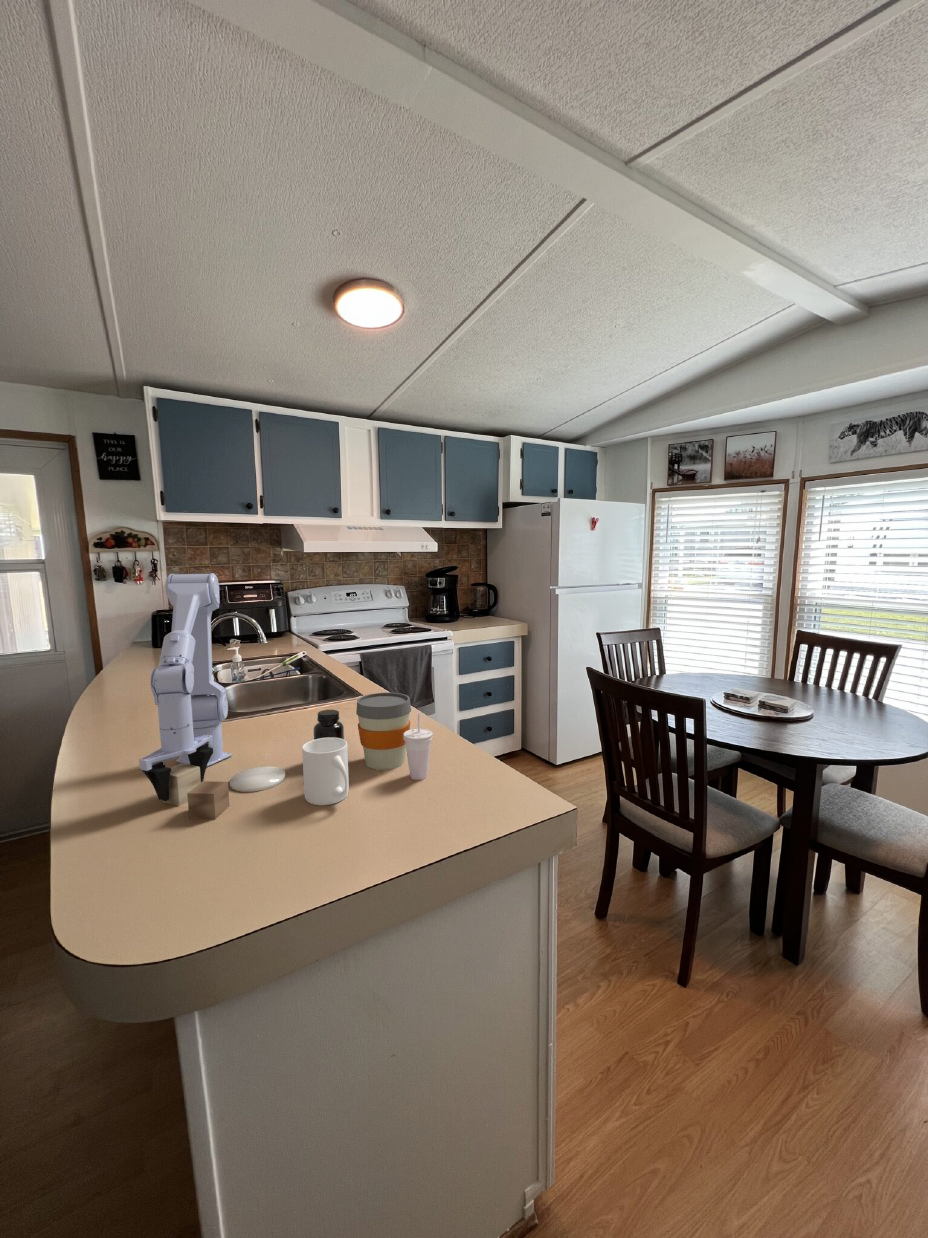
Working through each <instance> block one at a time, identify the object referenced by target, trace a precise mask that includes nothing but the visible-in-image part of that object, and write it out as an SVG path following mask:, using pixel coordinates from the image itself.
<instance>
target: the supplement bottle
mask: <svg viewBox="0 0 928 1238" xmlns="http://www.w3.org/2000/svg"><path fill="white" fill-rule="evenodd" d="M316 720H317V723H316V724H315V725H314V726H313V740H315V739H320V738H341V739H344V740H345V729H344V728H345V727H344V725H343V723H342V722H341V721H340V711H338V710H336V709H324V710H319V711H318V712H317V719H316Z"/></svg>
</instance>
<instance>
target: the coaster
mask: <svg viewBox="0 0 928 1238" xmlns="http://www.w3.org/2000/svg"><path fill="white" fill-rule="evenodd" d="M285 780H286V771H285V770H284V769H283V768H281V767H278V766H270V765H269V766H257V767H256V766H255V767H251V768H248V769H245V770H242V771H240V772H238V773H235V774H234V775H233V776H232V777H231V778H230V780H229V787H230V789H232V790H234V791H235V792H240V793H253V792H260V791H266V790H268V789H271V788H273V787H276V786H278V785H280V784H281V783H283V782H284V781H285Z"/></svg>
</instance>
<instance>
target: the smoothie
mask: <svg viewBox="0 0 928 1238" xmlns="http://www.w3.org/2000/svg"><path fill="white" fill-rule="evenodd" d="M403 736H404V737H403V739H404V740H405V744H406V754H407V755H406V757H407V762H408V763H407V764H408V770H409V776H410V779H412V780H413V781H414V780H415V781H420V780H422V781H423V780H424V779H427V778H428V773H429V765H430V764H429V763H430V755H431V747H432V739H433V738H434V736H433V731H431V730H430V729H426V728H421V713H420V712H417V728H414V729H410V730H408V731H406V732H405V733H404V734H403Z"/></svg>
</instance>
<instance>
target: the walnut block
mask: <svg viewBox="0 0 928 1238" xmlns="http://www.w3.org/2000/svg"><path fill="white" fill-rule="evenodd" d="M229 792H230V791H229V781H211V780H210V781H204V780H203V781H202V782H201V783H200V784H199V785H197V786H196V787H195V788H193V789H192V790H191V791H189V792H188V793H187V797H188V802H187V808H188V819H191V820H192V819H193V820H216V819H218V817H220V816H221V815H222V814H223V813H224V812H225V811H226V810H228V809H229V807H230V796H229V795H230V794H229Z"/></svg>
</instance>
